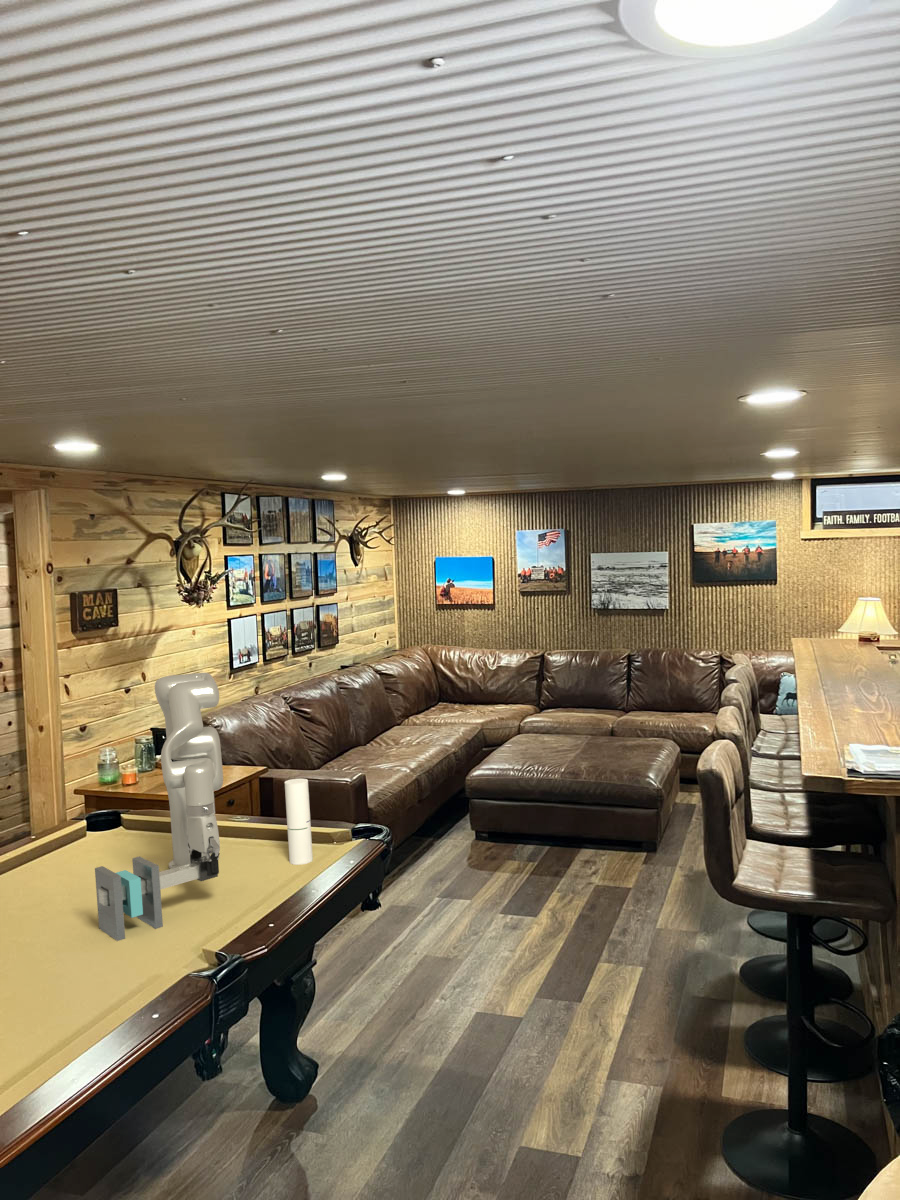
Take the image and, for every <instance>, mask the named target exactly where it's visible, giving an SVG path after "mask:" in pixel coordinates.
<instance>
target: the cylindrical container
mask: <svg viewBox="0 0 900 1200" xmlns="http://www.w3.org/2000/svg"><path fill="white" fill-rule="evenodd" d="M284 792H285V795H284V796H285V797H284V798H285V810H286V824H287V825H286V826H287V840H288V841H287V842H288V858H289V859H288V860H289V863H290V864H291V865H294V866H295V865H297V866H298V865H300V866H301V865H306V864H309V863H311V862H313V857H314V856H313V844H312V842H313V840H312V828H311V827H312V826H311V825H312V824H311V810H310V792H309V780H308V779H307V778H292V779H288V780H285V781H284Z"/></svg>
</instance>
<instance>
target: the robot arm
mask: <svg viewBox="0 0 900 1200" xmlns="http://www.w3.org/2000/svg"><path fill="white" fill-rule="evenodd" d="M154 694H155V698H156V701H157V703H158V705H159V707H160V709H161V711H162V713H163V714H162V715H163V717H164V722H165V733H166V739H165V742H164V743H163V745H162V748H161V752H160V753H161V754H160V764H161V771H162V778H163V783H164V785H165V787H166V792H167V796H168V803H169V804H168V805H169V812H170V828H171V845H172V855H173V856H172V857H173V859H172V860H171V861H169V862H168V868H169V869H172V868H176V867H179V866H183V865H187V864H190V863H192V859H195V858H199V857H202V856H206V857H207V860H208V861H207V875H208V876H212V875H216V874H218V875H219V874H220V869H219V868H220V865H219V859H220V850H221V842H220V834H219V826H218V821H217V817H216V806H215V805H216V804H215V793H214V792H215V791H219V790H220V789H222V787H223V785H224V771H223V760H222V758H223V757H222V748H221V739H220V735H219V733H218V730H217V729H216V728H215V727H214V726H204V723H203V718H202V711H201V710H202V709H211V708H215V707H217V706H218V705H219V702H220V691H219V687H218V684H217V682H216V680H215V679H214V677H213V676H212V675H211V673H210V672H195V673H187V674H183V673H181V674H174V675H173V674H172V675H167V676H166V675H165V676H163V677H159V678H158V679H156V681H155V682H154ZM172 760H173V761H172Z"/></svg>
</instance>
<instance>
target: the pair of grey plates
mask: <svg viewBox="0 0 900 1200" xmlns="http://www.w3.org/2000/svg"><path fill="white" fill-rule="evenodd" d="M131 862H132V874H134V875H136V876H138V877H142V878H144V879H146V880H147V892H148V893H147V894H143V895H142V906H143V915H139V916H136V917H135V918H137V919H138V920H141V922H144V923H145V924H146V925H149V926H150V927H152V928H153V929H155V930H157V929H160V928H163V927H164V921H163V920H164V919H163V907H162V895H161V894H162V893H161V890H160V876H159V872H160V866H159V865H158V864H156V863H154V862H153V861H150V860H148V859H146V858H144V857H141V856H136V857H132V861H131ZM94 874H95V877H94V878H95V889H96V890H95V891H96V892H95V893H96V903H97V904H96V905H97V915H98V916H97V917H98V918H97V921H98V929H99V930H100V929H101V930H100V931H102V932H103V933H104V934H106V935H108V937H110V938H112V939H114V940H115V941H117V942H119V941H122V940H125V939H126V931H125V930H126V929H125V917H124V915H125V913H123V900H122V886H121V876H120V875H118V874H116V872H115V871H113V870H110V869H109V868H107V867H105V866H102V865H101V866H96V867H94ZM100 888H105V889H107V890H109V903H110V904H109V905H105V906H104V905H103V904H101V903H99V891H98V889H100Z"/></svg>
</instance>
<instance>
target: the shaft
mask: <svg viewBox="0 0 900 1200" xmlns="http://www.w3.org/2000/svg"><path fill="white" fill-rule="evenodd" d="M207 861H208V860H207V857H206V856H202V857H199V858H195V859H192V863H190V864H187V865H183V866H179V867H176V868H172V869H170V868H169V869H165V870H161V871H159V876H160V891H161V890H164V889H167V888H171V887H173V886H177V885H181V884H183V883H184V884H185V883H187V882H190V881H195V880H196V881H200V882H204V881H207V880H210V879H214V878H217V877H219V873H218V874H216V875H212V876H208V875H207ZM140 878H141V892H142V895H143V894H147V893H148V892H147V880H146V879H144V878H142V877H140ZM121 886H122V900H126V899H127V887H126V886H124V885H122V884H121ZM98 891H99V903H101V904H103V905H104V906H105V905H109V904H110V903H109V890H107V889H105V888H100V889H98Z"/></svg>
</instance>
